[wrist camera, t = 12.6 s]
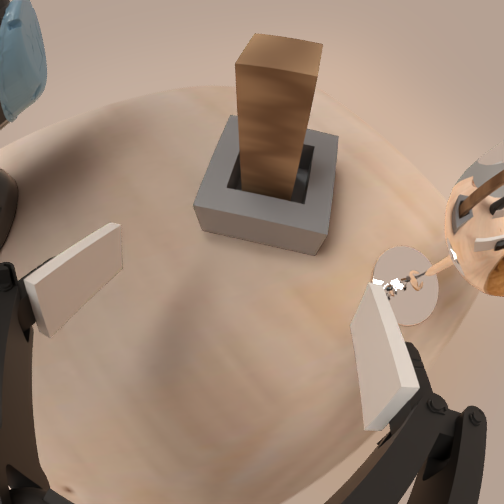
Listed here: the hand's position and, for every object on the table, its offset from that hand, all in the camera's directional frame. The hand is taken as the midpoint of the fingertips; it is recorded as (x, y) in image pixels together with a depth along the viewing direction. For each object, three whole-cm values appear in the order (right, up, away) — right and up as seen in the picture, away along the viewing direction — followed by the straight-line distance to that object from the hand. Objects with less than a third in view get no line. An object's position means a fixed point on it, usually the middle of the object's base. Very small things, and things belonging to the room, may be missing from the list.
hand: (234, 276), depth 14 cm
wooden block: (+2, +7, +11) cm, 13 cm away
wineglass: (+15, -2, +9) cm, 18 cm away
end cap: (+3, +7, +12) cm, 14 cm away
